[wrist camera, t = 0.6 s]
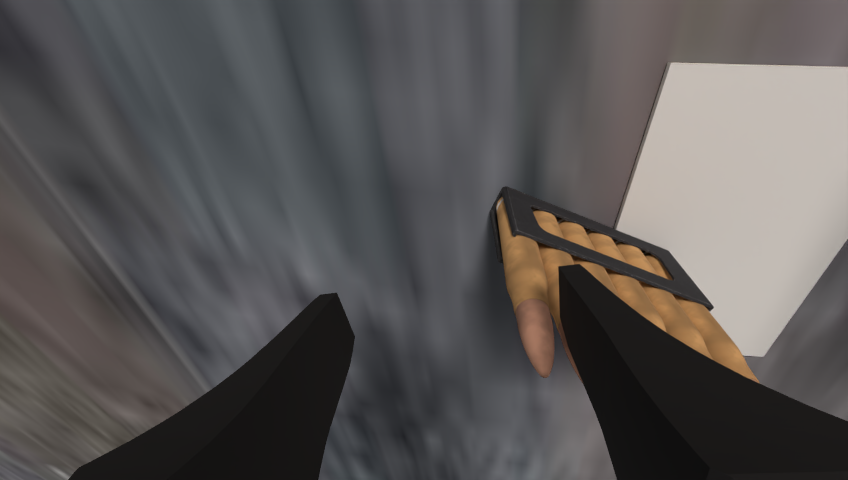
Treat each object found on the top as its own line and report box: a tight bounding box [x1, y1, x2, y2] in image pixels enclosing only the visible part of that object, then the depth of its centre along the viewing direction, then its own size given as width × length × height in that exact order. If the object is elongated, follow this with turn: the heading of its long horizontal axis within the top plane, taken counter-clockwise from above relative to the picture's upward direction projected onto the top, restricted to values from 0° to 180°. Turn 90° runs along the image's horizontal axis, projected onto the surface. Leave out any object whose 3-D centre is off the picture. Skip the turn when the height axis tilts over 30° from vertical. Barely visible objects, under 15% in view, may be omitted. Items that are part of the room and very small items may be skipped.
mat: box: [614, 63, 848, 357], centre depth 21 cm, size 12×18×1 cm
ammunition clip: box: [490, 187, 760, 384], centre depth 16 cm, size 11×2×12 cm, turn 70°
